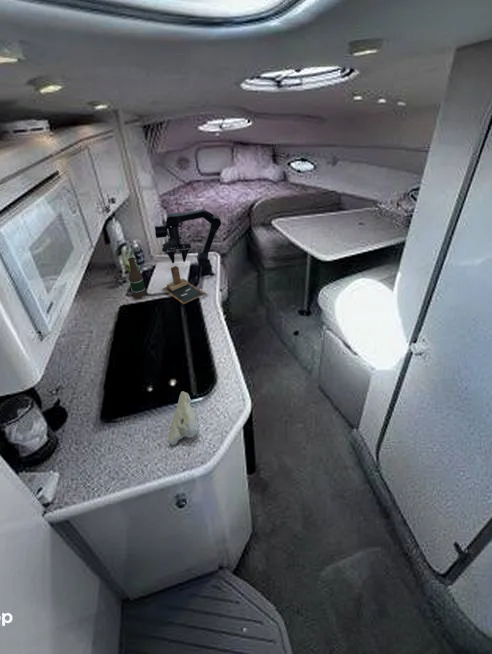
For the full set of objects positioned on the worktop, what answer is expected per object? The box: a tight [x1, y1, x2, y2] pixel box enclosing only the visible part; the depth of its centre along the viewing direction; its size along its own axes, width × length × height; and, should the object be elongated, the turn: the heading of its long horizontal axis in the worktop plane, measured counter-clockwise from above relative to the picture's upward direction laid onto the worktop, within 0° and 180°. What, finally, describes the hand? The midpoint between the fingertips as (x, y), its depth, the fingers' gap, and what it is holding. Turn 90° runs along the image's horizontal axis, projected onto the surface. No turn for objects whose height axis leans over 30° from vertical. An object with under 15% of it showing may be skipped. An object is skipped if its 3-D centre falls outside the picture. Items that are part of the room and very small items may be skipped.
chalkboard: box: [161, 281, 207, 305], centre depth 194 cm, size 24×15×1 cm, turn 41°
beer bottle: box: [127, 257, 147, 300], centre depth 188 cm, size 8×8×24 cm
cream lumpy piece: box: [168, 390, 200, 446], centre depth 113 cm, size 15×7×15 cm
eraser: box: [166, 265, 189, 293], centre depth 195 cm, size 6×11×13 cm, turn 131°
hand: (178, 262), depth 196 cm, fingers open, 9 cm apart
